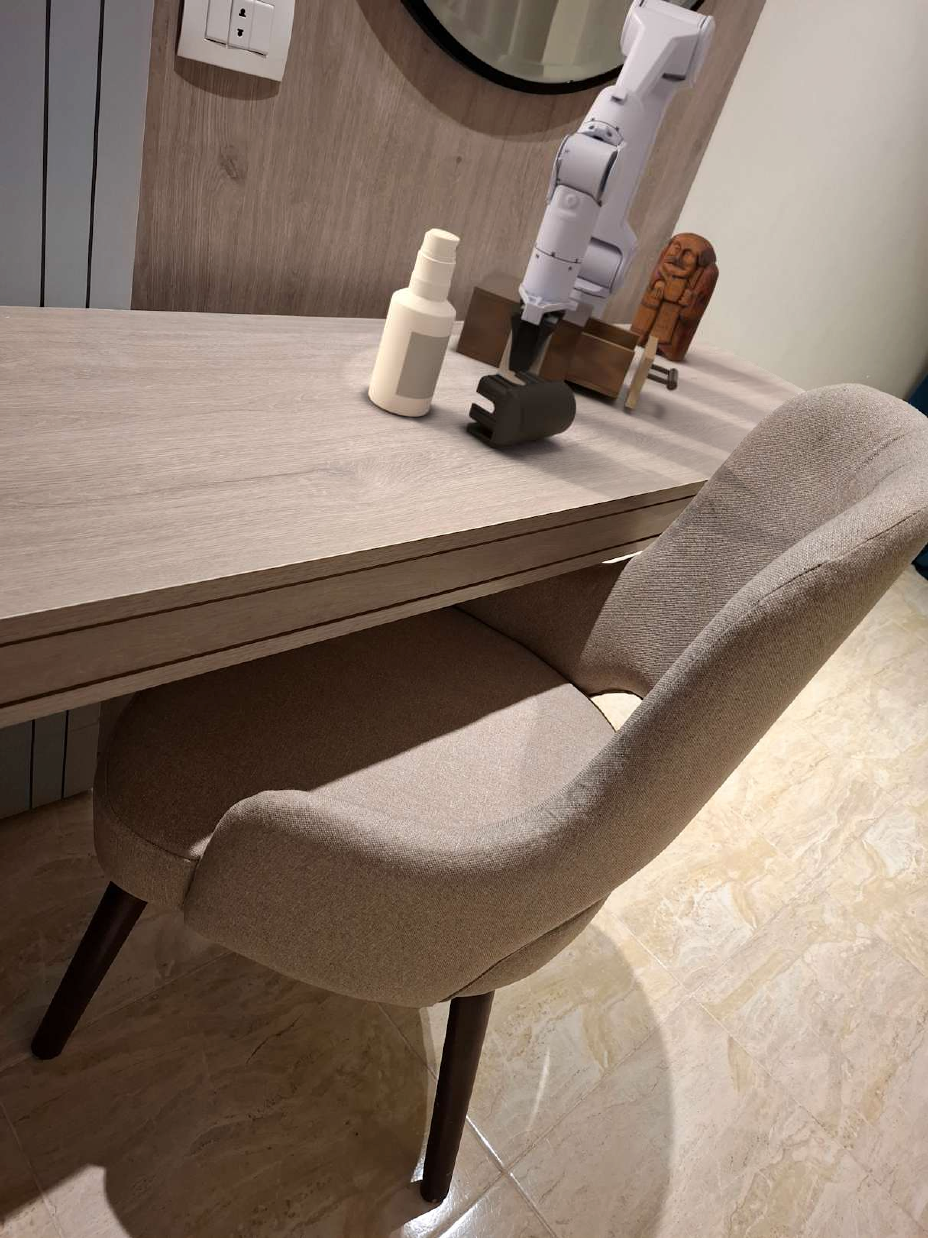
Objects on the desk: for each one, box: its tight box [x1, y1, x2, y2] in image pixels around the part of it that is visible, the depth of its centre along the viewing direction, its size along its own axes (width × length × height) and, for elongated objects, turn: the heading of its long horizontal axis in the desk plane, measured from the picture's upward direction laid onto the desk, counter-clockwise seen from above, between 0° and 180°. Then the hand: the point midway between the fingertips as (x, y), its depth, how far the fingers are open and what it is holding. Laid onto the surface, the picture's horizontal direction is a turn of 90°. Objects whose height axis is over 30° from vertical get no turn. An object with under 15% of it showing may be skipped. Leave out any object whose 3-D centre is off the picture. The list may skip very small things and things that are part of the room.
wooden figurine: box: [628, 232, 720, 361], centre depth 144 cm, size 12×6×18 cm, turn 49°
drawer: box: [565, 316, 679, 410], centre depth 120 cm, size 18×11×7 cm, turn 76°
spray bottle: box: [368, 228, 461, 417], centre depth 93 cm, size 7×7×18 cm
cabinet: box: [455, 268, 594, 383], centre depth 121 cm, size 15×13×9 cm
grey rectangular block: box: [496, 304, 558, 385], centre depth 108 cm, size 4×4×9 cm
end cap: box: [466, 370, 577, 449], centre depth 97 cm, size 10×7×7 cm
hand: (520, 367), depth 109 cm, fingers closed on grey rectangular block, 4 cm apart
